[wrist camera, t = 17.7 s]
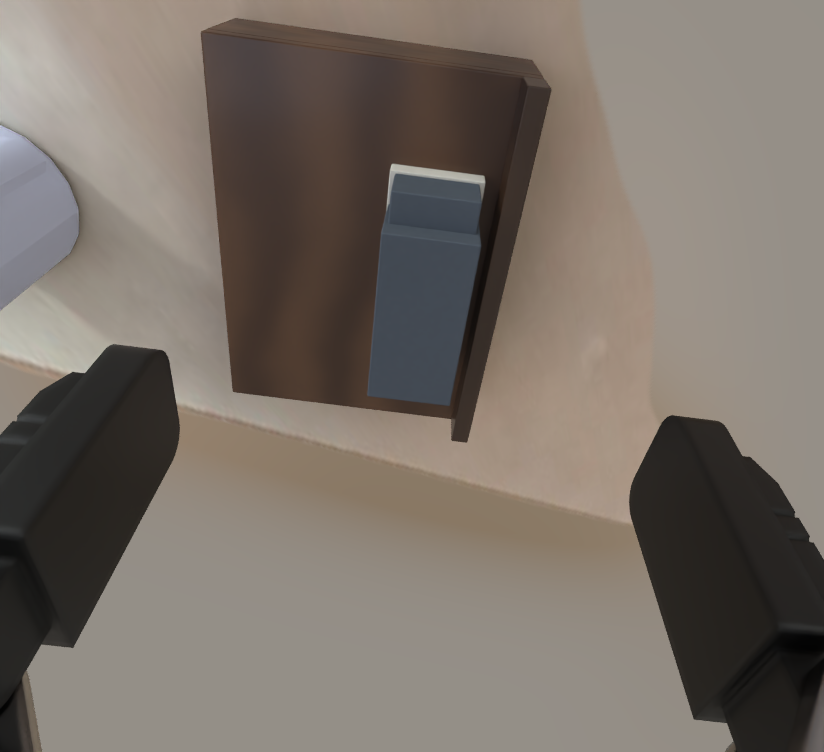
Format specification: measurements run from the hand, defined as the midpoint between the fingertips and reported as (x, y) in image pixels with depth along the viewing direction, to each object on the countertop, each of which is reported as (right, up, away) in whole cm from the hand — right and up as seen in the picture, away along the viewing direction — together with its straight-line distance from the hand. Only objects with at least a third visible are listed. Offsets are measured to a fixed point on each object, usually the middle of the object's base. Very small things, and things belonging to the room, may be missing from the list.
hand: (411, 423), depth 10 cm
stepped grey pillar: (+1, +6, +22) cm, 23 cm away
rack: (-3, +10, +26) cm, 27 cm away
